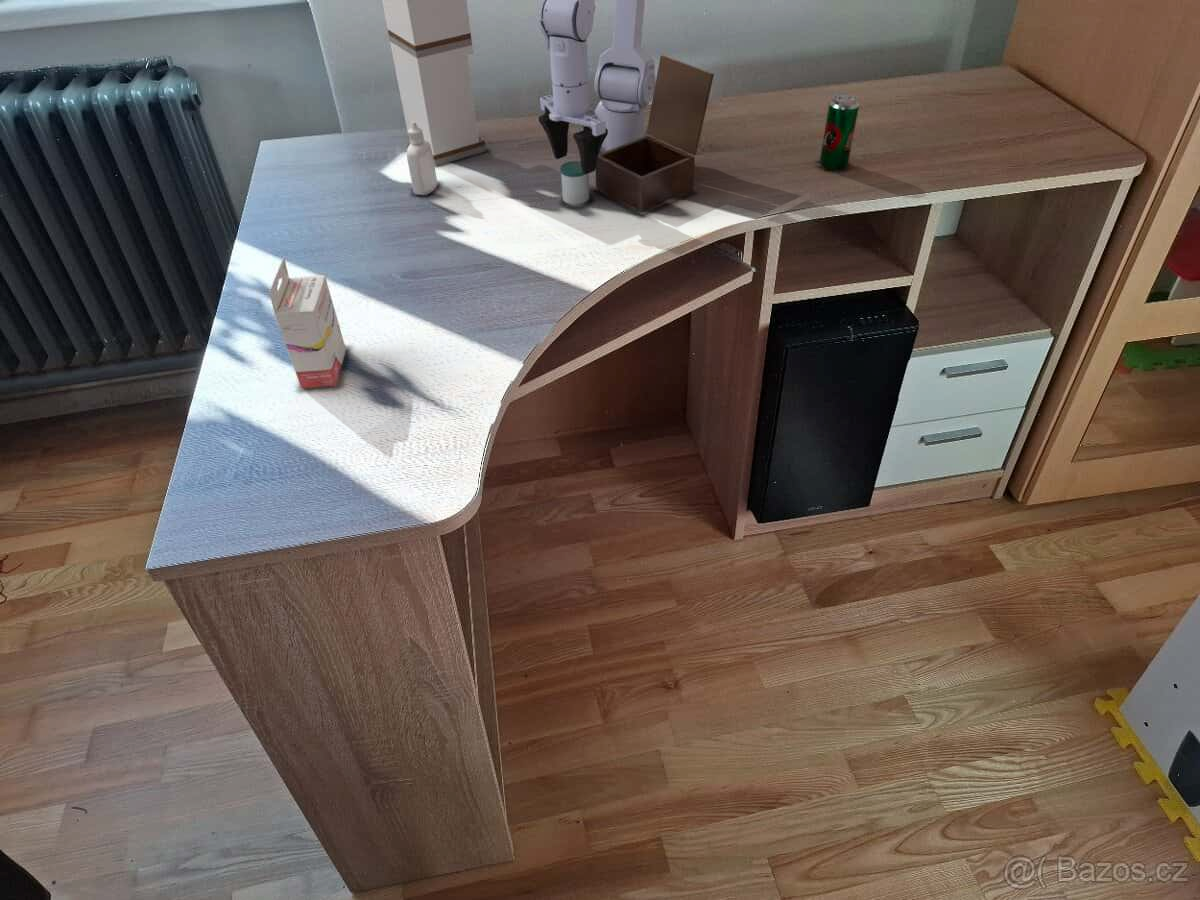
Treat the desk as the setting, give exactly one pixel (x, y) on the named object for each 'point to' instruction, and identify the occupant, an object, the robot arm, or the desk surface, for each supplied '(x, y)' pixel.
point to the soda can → (839, 131)
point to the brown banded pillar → (435, 73)
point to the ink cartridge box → (308, 327)
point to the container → (574, 183)
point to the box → (644, 173)
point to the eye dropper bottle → (420, 162)
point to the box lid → (679, 104)
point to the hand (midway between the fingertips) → (574, 164)
